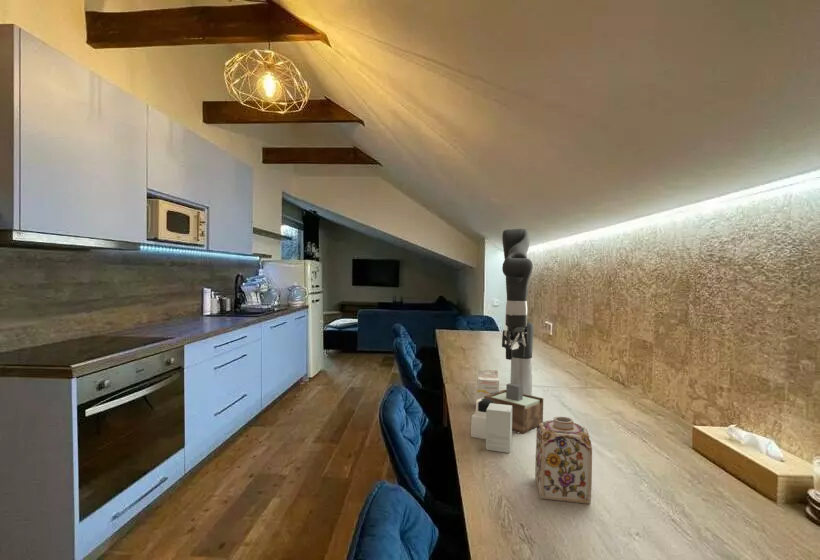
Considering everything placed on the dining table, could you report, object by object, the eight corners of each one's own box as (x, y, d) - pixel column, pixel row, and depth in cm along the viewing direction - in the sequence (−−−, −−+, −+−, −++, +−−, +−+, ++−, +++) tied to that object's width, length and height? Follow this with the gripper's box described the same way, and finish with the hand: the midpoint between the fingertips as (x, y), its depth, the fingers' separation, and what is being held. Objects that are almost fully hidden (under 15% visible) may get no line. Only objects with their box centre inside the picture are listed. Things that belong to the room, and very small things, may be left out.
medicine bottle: (497, 434, 147) (498, 398, 147) (492, 441, 141) (492, 404, 140) (476, 430, 150) (477, 395, 150) (470, 437, 144) (471, 400, 143)
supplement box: (512, 445, 138) (513, 405, 138) (509, 453, 131) (510, 411, 131) (488, 441, 140) (489, 402, 140) (485, 450, 133) (486, 408, 133)
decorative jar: (591, 505, 102) (593, 428, 102) (540, 500, 104) (542, 424, 104) (581, 482, 113) (582, 413, 113) (534, 477, 115) (536, 409, 115)
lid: (506, 394, 167) (506, 379, 167) (539, 402, 157) (540, 386, 157) (489, 400, 159) (489, 383, 159) (523, 409, 149) (523, 391, 149)
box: (504, 414, 169) (505, 389, 169) (542, 424, 157) (543, 398, 157) (483, 422, 159) (484, 396, 159) (522, 433, 147) (523, 406, 147)
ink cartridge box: (477, 408, 176) (477, 371, 176) (476, 404, 181) (477, 369, 181) (498, 409, 175) (499, 372, 175) (497, 405, 180) (498, 369, 180)
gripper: (517, 311, 165) (516, 354, 165) (496, 313, 155) (495, 358, 155) (535, 313, 160) (534, 357, 160) (515, 314, 150) (513, 362, 150)
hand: (515, 358), depth 158 cm, fingers open, 8 cm apart
